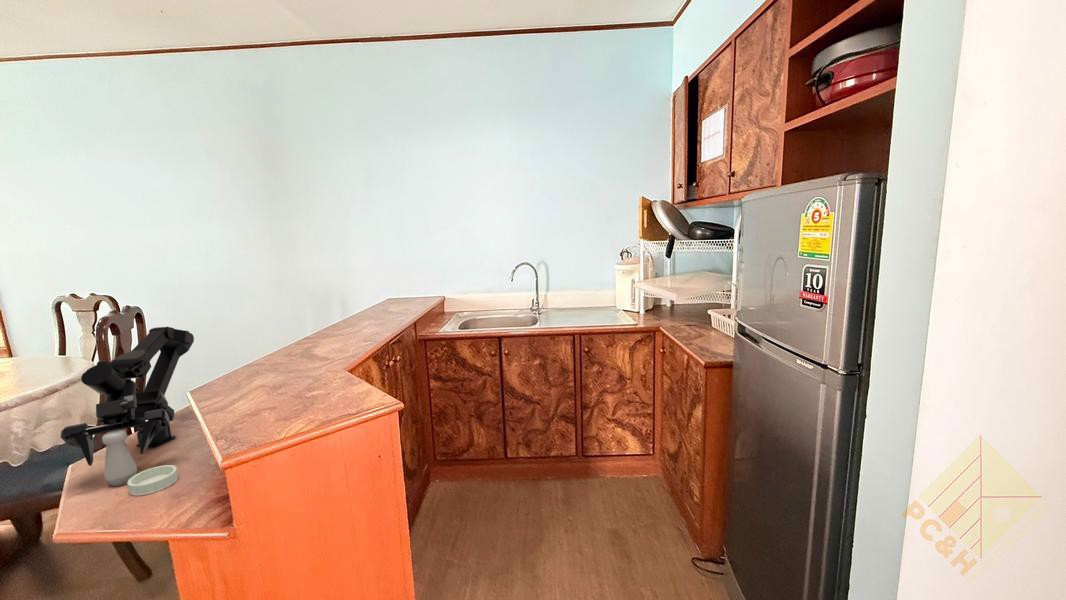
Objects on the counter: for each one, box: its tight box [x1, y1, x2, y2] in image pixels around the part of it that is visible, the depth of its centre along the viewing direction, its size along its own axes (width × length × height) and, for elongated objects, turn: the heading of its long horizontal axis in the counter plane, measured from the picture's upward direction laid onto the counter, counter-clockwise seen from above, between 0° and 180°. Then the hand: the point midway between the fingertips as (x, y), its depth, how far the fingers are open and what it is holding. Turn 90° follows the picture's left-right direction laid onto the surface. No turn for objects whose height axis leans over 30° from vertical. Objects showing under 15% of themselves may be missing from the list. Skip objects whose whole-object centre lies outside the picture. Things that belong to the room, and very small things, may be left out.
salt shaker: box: [101, 429, 138, 487], centre depth 102 cm, size 6×6×13 cm
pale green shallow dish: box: [126, 464, 179, 497], centre depth 101 cm, size 9×9×2 cm
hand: (116, 458), depth 101 cm, fingers open, 9 cm apart
